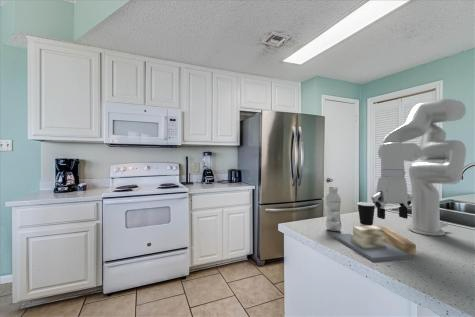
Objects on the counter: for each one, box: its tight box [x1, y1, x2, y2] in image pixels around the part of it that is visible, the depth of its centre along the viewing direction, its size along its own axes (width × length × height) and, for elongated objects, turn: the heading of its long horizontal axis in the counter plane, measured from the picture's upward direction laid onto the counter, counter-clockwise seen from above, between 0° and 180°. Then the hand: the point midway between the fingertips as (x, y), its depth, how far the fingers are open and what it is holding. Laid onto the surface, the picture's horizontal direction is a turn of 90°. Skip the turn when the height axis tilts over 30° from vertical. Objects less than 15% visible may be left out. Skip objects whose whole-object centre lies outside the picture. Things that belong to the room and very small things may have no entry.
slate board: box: [333, 233, 412, 263], centre depth 83 cm, size 14×22×1 cm, turn 8°
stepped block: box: [350, 225, 387, 248], centre depth 83 cm, size 9×7×6 cm
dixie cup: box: [356, 201, 376, 226], centre depth 108 cm, size 8×8×11 cm
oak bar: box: [377, 225, 417, 256], centre depth 85 cm, size 4×20×4 cm, turn 169°
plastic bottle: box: [325, 186, 343, 232], centre depth 101 cm, size 6×7×20 cm
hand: (392, 217), depth 85 cm, fingers open, 9 cm apart
